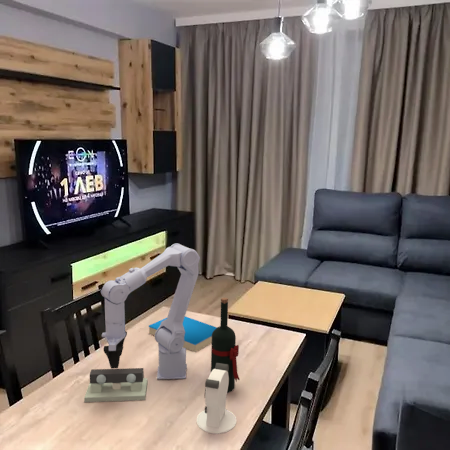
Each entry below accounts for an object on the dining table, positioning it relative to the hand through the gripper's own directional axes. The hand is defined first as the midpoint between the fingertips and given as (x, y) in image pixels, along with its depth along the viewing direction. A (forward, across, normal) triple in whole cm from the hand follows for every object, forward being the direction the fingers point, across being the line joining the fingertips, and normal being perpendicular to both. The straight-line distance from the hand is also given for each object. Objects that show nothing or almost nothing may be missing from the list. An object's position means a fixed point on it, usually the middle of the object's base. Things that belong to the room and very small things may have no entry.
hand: (116, 361), depth 138 cm
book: (+11, -39, +22) cm, 46 cm away
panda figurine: (+11, +16, +30) cm, 36 cm away
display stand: (+10, 0, 0) cm, 10 cm away
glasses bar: (+6, 0, 0) cm, 6 cm away
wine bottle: (+11, 0, +34) cm, 36 cm away
